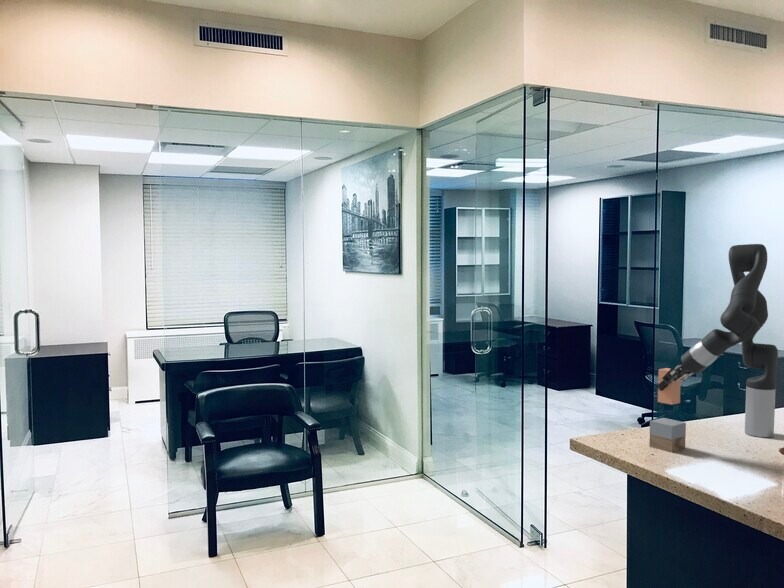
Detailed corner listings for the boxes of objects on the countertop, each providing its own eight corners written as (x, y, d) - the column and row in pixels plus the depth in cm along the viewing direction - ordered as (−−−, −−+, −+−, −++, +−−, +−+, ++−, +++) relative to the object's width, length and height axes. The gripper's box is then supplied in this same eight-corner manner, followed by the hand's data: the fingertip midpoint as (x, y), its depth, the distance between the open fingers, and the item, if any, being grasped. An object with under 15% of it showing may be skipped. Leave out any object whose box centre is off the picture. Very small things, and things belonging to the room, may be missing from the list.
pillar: (665, 400, 212) (666, 368, 212) (680, 402, 208) (680, 370, 208) (657, 402, 209) (658, 369, 209) (672, 404, 205) (672, 371, 205)
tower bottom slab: (662, 443, 216) (663, 430, 215) (685, 449, 209) (685, 435, 209) (649, 447, 211) (649, 434, 211) (671, 453, 205) (672, 439, 204)
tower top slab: (663, 430, 215) (663, 417, 215) (685, 436, 209) (685, 422, 209) (649, 434, 211) (650, 420, 211) (671, 439, 204) (672, 426, 204)
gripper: (703, 345, 206) (667, 376, 217) (680, 348, 198) (644, 380, 208) (719, 363, 202) (682, 394, 213) (696, 367, 194) (659, 399, 204)
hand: (663, 387), depth 210 cm, fingers closed on pillar, 5 cm apart
